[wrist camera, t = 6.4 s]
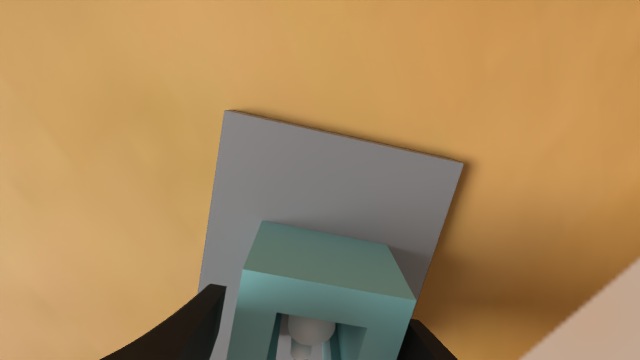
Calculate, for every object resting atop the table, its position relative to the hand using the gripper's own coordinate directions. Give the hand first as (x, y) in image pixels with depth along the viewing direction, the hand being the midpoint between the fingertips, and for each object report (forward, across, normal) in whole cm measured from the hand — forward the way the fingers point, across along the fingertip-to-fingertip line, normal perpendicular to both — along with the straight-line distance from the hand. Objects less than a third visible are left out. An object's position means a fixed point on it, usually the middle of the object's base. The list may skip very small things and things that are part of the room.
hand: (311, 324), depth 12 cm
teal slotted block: (+2, 0, 0) cm, 2 cm away
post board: (+3, 0, 0) cm, 3 cm away
